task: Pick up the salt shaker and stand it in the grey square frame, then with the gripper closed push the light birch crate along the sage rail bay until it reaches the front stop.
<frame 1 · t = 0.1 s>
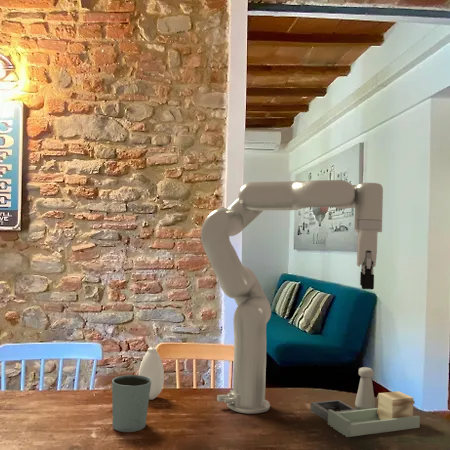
hand: (366, 287, 147), 37 cm above the table, tool pointing down, fingers open, 9 cm apart
white vase: (150, 399, 159), on the table
salt shaker: (364, 413, 152), on the table
grey square frame: (333, 414, 150), on the table
bay: (374, 425, 142), on the table
crate: (395, 408, 144), point 4 cm above the table, slide at 14.0 cm
green cup: (130, 426, 136), on the table
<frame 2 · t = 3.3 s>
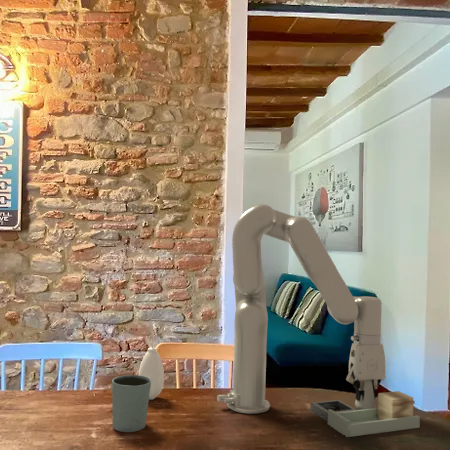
hand: (365, 401, 152), 3 cm above the table, tool pointing down, fingers closed on salt shaker, 3 cm apart
salt shaker: (364, 413, 152), on the table, touching gripper
everything else where it was.
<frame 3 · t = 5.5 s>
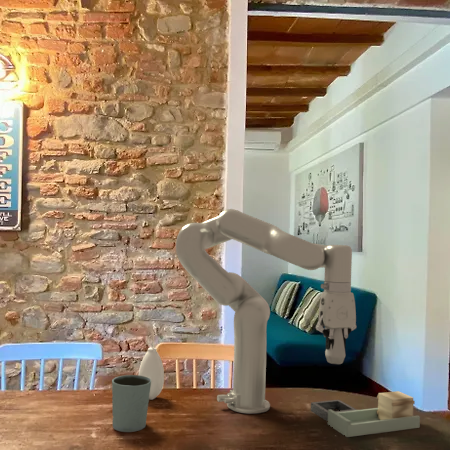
hand: (335, 351, 150), 18 cm above the table, tool pointing down, fingers closed on salt shaker, 3 cm apart
salt shaker: (335, 363, 150), point 15 cm above the table, touching gripper
everything else where it was.
when the fingers open (5 cm above the table, at t = 8.1 s): salt shaker drops 1 cm, resting in grey square frame.
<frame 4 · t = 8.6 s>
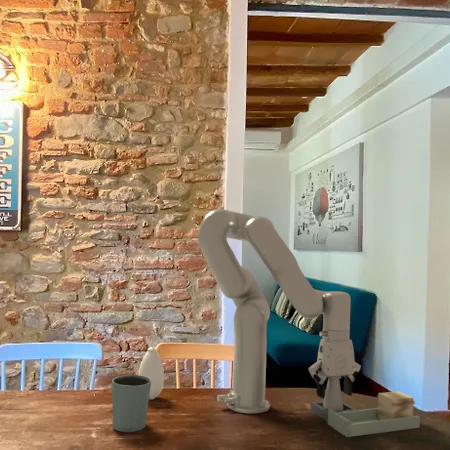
hand: (334, 395, 150), 6 cm above the table, tool pointing down, fingers open, 8 cm apart
salt shaker: (332, 415, 150), resting in grey square frame
everything else where it was.
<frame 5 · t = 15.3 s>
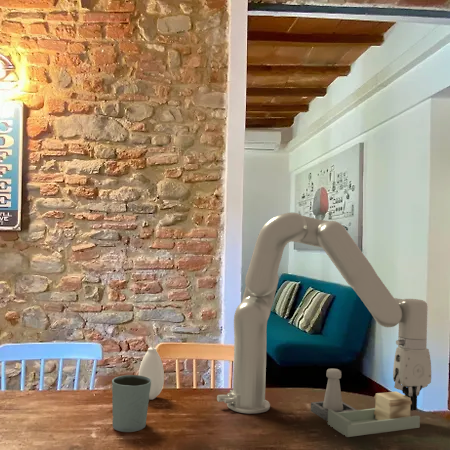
hand: (410, 408, 146), 4 cm above the table, tool pointing down, fingers closed
crate: (392, 408, 144), point 4 cm above the table, slide at 13.1 cm, touching gripper
everything else where it was.
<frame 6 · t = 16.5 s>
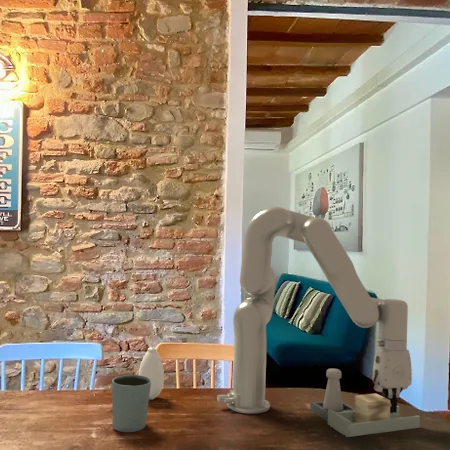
hand: (390, 411, 144), 4 cm above the table, tool pointing down, fingers closed
crate: (372, 410, 142), point 4 cm above the table, slide at 6.2 cm, touching gripper
everything else where it was.
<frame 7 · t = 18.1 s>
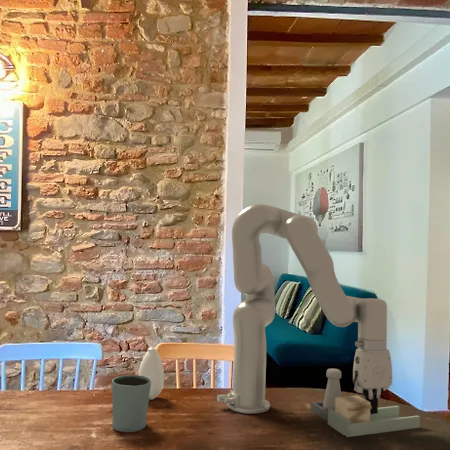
hand: (371, 412, 141), 4 cm above the table, tool pointing down, fingers closed
crate: (352, 412, 139), point 4 cm above the table, slide at -0.2 cm, touching gripper
everything else where it was.
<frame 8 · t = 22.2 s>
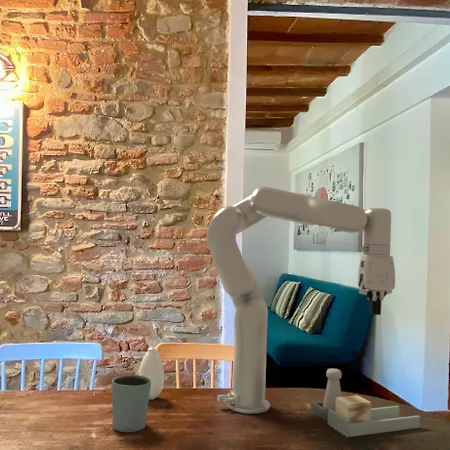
hand: (374, 314, 151), 29 cm above the table, tool pointing down, fingers closed
crate: (352, 412, 139), point 4 cm above the table, slide at 0.0 cm
everything else where it was.
at the end: salt shaker 0.3 cm from the grey square frame (horizontally); salt shaker tilted 0°; crate slide at 0.0 cm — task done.
